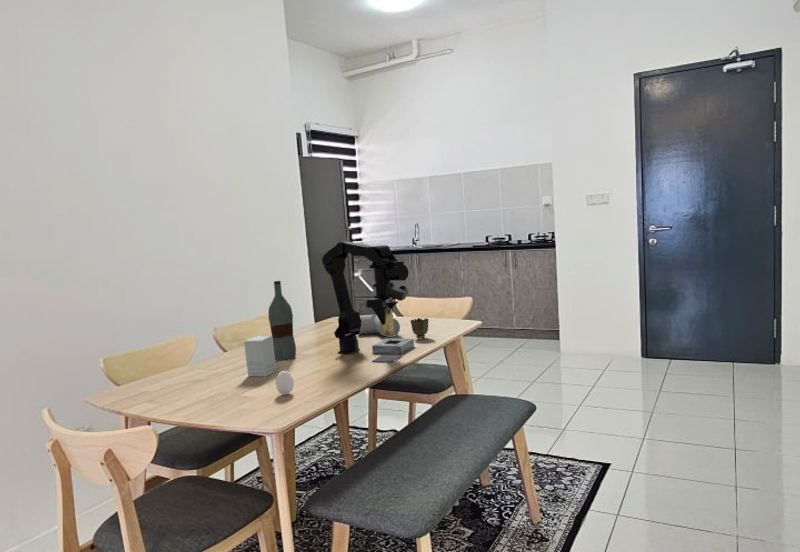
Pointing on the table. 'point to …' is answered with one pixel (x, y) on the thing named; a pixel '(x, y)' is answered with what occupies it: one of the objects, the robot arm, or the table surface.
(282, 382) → the egg
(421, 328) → the cup
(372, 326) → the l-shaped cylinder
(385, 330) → the brass cylinder
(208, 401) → the table surface
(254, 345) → the supplement box
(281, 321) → the bottle
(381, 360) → the mat
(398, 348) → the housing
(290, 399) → the table surface
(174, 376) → the table surface
